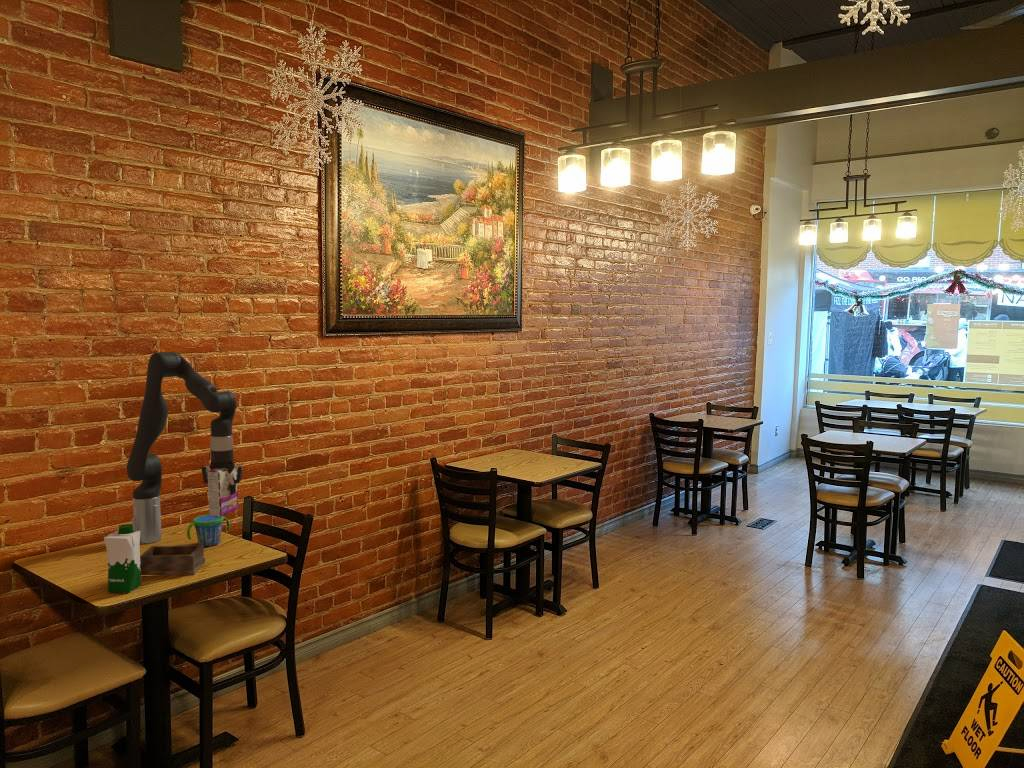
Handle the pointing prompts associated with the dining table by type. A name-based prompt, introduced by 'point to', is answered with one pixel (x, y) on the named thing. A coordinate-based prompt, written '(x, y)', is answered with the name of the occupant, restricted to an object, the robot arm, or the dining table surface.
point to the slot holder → (172, 560)
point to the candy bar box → (221, 493)
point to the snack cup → (208, 529)
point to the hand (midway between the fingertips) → (223, 494)
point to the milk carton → (123, 559)
